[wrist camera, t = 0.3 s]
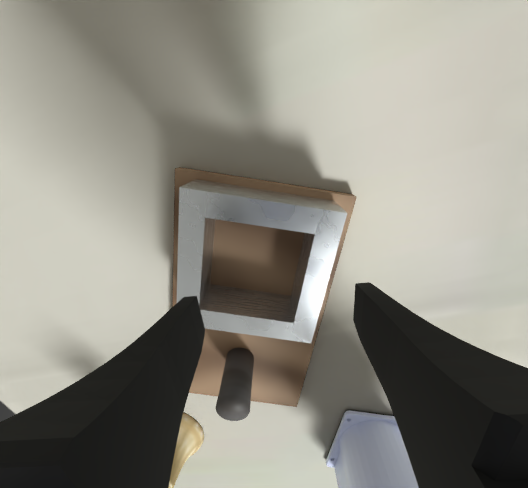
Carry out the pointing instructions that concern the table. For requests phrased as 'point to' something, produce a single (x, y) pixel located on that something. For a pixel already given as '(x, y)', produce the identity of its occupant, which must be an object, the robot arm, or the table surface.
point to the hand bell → (185, 445)
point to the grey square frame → (268, 215)
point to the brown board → (259, 279)
